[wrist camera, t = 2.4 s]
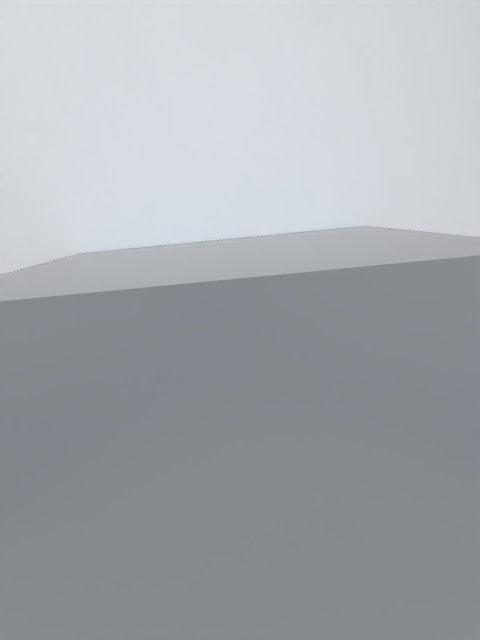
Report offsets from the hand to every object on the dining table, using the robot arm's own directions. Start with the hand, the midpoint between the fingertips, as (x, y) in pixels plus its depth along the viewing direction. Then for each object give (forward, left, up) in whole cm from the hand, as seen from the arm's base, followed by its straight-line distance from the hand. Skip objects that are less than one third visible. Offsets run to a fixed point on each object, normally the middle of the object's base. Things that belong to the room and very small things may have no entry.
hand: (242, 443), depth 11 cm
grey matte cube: (0, 0, -4) cm, 4 cm away
